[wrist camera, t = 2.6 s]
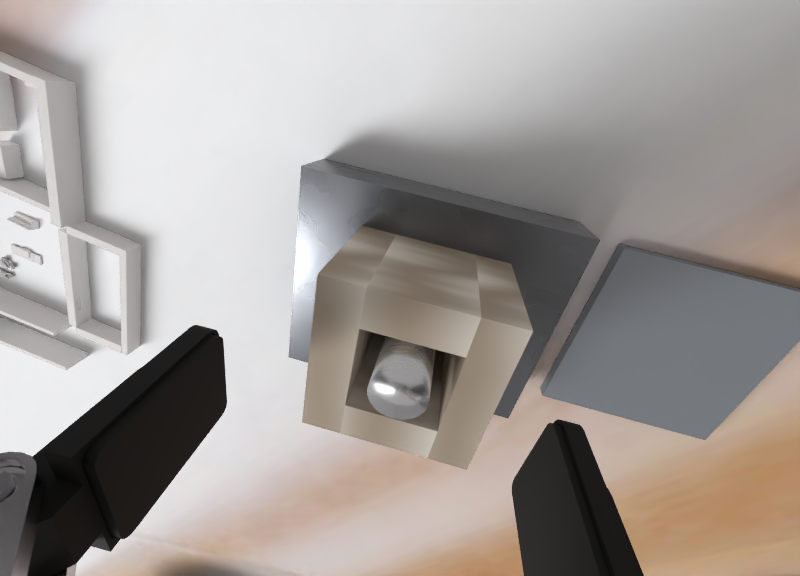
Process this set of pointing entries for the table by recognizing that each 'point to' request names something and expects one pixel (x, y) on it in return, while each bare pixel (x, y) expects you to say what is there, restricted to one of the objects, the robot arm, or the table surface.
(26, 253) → the floor plan model
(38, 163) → the table surface
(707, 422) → the mat
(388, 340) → the post stand
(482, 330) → the collar
